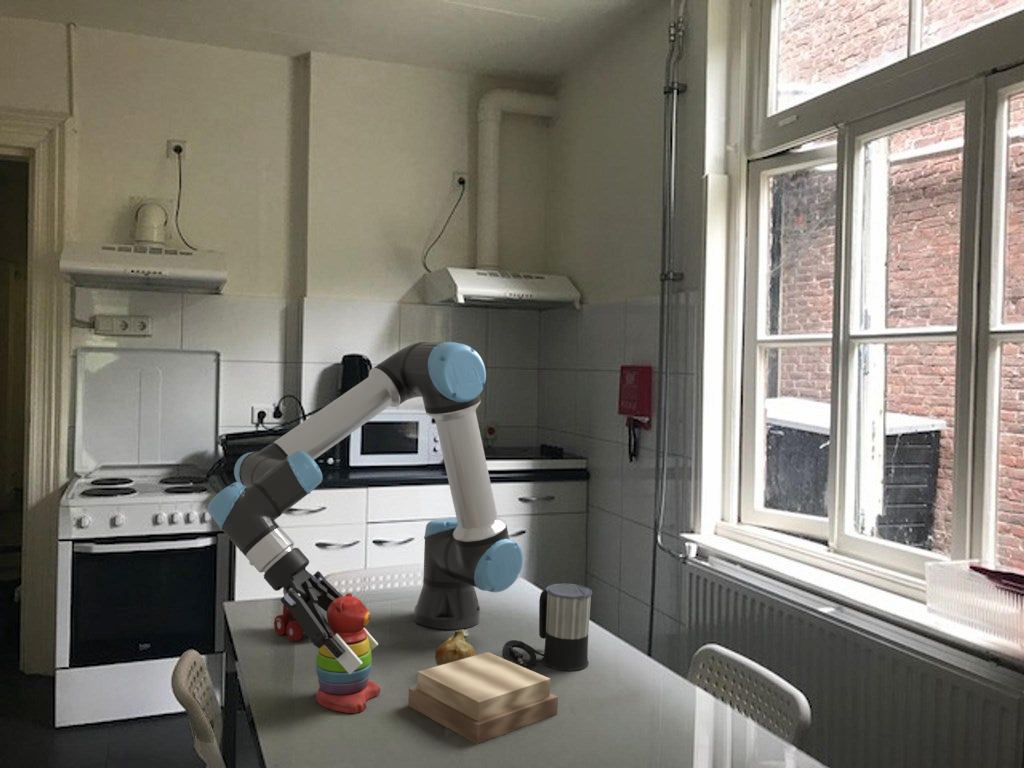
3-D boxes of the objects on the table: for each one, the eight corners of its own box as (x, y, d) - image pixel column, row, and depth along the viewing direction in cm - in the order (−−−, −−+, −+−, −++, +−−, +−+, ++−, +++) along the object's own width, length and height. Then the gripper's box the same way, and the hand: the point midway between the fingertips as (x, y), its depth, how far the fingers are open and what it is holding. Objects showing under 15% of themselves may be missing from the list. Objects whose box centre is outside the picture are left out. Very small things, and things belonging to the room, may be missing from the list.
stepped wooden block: (487, 681, 154) (488, 649, 154) (557, 714, 141) (558, 679, 141) (408, 705, 142) (409, 671, 142) (476, 744, 129) (478, 706, 128)
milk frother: (598, 664, 166) (602, 590, 165) (546, 684, 154) (550, 605, 154) (545, 645, 175) (548, 575, 175) (492, 662, 164) (495, 588, 164)
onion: (428, 667, 160) (430, 626, 160) (468, 663, 163) (469, 623, 163) (440, 682, 153) (442, 639, 153) (481, 677, 156) (483, 635, 156)
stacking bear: (360, 715, 137) (364, 608, 137) (303, 707, 139) (307, 602, 139) (383, 690, 148) (387, 591, 147) (330, 683, 150) (333, 586, 149)
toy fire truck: (300, 646, 168) (302, 595, 168) (269, 631, 177) (271, 582, 177) (329, 639, 173) (331, 590, 173) (298, 624, 182) (300, 577, 182)
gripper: (287, 560, 155) (367, 651, 154) (236, 590, 134) (328, 697, 133) (315, 533, 155) (396, 625, 153) (268, 560, 133) (361, 667, 132)
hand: (364, 658), depth 143 cm, fingers closed on stacking bear, 9 cm apart
